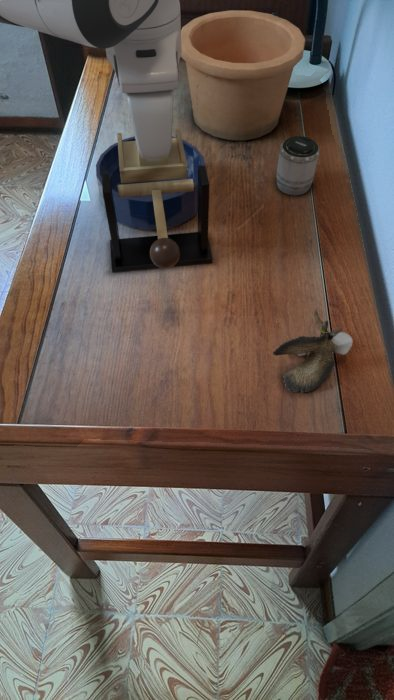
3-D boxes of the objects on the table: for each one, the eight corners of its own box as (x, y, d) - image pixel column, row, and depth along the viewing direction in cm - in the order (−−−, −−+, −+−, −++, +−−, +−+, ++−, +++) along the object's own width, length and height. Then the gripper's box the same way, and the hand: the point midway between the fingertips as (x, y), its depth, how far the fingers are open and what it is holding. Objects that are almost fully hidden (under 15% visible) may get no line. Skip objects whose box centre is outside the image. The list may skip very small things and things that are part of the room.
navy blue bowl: (103, 236, 79) (97, 205, 75) (100, 169, 89) (95, 138, 84) (211, 227, 81) (212, 196, 76) (197, 161, 91) (197, 130, 86)
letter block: (139, 167, 70) (137, 140, 66) (137, 150, 72) (135, 123, 69) (168, 164, 70) (167, 138, 67) (165, 148, 72) (164, 121, 69)
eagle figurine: (293, 319, 69) (257, 354, 63) (332, 299, 63) (296, 336, 58) (325, 364, 69) (292, 402, 64) (366, 349, 64) (334, 390, 58)
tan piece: (125, 278, 60) (121, 256, 57) (116, 155, 75) (113, 132, 72) (208, 270, 61) (209, 248, 58) (183, 150, 76) (183, 127, 73)
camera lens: (284, 169, 89) (291, 128, 83) (317, 181, 87) (327, 139, 81) (268, 189, 86) (274, 147, 80) (302, 201, 84) (311, 160, 78)
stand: (112, 272, 75) (97, 198, 64) (110, 244, 78) (96, 169, 67) (212, 263, 76) (215, 188, 65) (206, 235, 80) (208, 160, 69)
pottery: (297, 150, 93) (312, 69, 81) (177, 148, 93) (174, 67, 81) (287, 88, 105) (299, 10, 93) (181, 86, 105) (180, 8, 93)
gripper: (111, 2, 64) (124, 107, 75) (119, 86, 52) (133, 196, 64) (161, -1, 64) (166, 104, 76) (180, 82, 53) (183, 191, 64)
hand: (151, 147), depth 70 cm, fingers closed on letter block, 4 cm apart
